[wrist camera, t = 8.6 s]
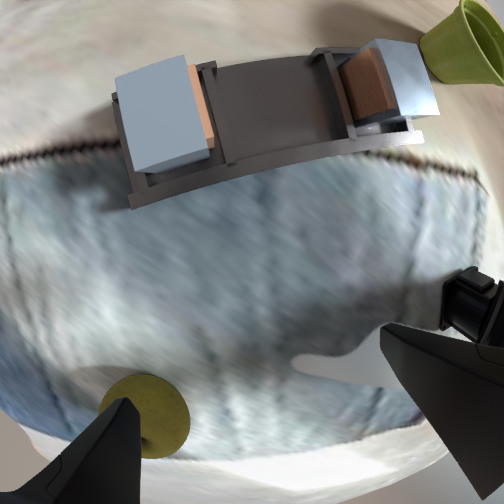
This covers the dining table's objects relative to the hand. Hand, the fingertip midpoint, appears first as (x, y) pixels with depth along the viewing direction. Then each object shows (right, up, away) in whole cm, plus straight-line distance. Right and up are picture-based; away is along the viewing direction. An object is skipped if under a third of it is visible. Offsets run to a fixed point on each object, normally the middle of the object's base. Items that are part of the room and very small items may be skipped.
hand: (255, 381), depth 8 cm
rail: (+2, +14, +10) cm, 17 cm away
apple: (-10, -9, +15) cm, 20 cm away
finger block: (-5, +12, +8) cm, 16 cm away
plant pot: (+19, +24, +10) cm, 33 cm away
